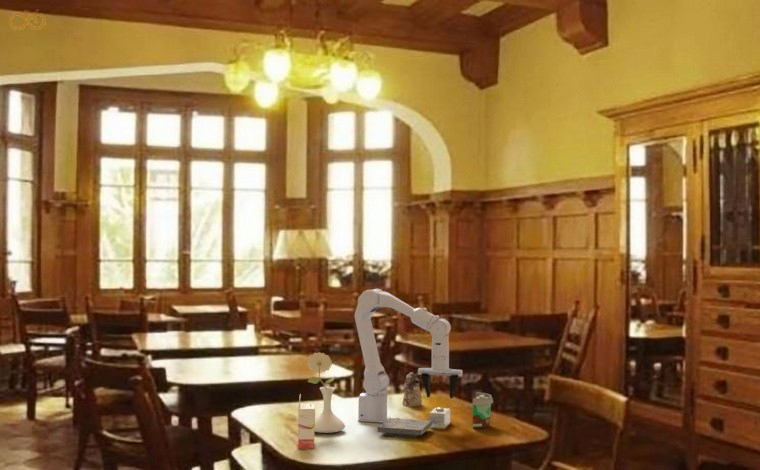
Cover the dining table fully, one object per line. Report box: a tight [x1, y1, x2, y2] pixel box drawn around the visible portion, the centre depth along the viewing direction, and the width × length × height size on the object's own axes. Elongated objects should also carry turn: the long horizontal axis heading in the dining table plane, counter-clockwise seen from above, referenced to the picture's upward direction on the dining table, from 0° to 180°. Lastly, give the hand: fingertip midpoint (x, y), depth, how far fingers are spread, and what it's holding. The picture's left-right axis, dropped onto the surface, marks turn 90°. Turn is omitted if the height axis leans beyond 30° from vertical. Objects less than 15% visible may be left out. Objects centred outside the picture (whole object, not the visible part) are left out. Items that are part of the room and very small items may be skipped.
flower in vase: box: [305, 351, 346, 434], centre depth 268 cm, size 13×11×25 cm
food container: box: [472, 391, 494, 429], centre depth 278 cm, size 12×6×10 cm, turn 168°
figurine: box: [402, 371, 423, 407], centre depth 313 cm, size 7×7×12 cm
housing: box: [428, 407, 451, 430], centre depth 279 cm, size 5×9×6 cm, turn 164°
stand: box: [377, 417, 432, 439], centre depth 266 cm, size 14×14×3 cm
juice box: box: [297, 393, 316, 450], centre depth 250 cm, size 9×5×15 cm, turn 5°
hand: (440, 397), depth 279 cm, fingers open, 7 cm apart
